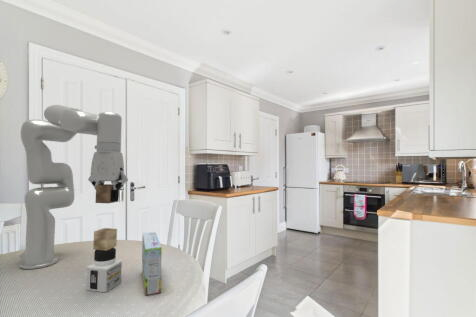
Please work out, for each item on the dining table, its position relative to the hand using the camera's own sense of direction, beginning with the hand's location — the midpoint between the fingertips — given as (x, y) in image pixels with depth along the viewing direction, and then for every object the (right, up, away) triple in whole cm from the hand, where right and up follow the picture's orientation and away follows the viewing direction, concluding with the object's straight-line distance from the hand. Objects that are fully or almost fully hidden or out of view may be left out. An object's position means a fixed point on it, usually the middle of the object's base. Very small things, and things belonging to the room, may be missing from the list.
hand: (107, 200), depth 87 cm
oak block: (0, -16, -1) cm, 16 cm away
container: (0, -29, -1) cm, 29 cm away
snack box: (+14, -30, +3) cm, 33 cm away
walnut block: (0, -1, 0) cm, 1 cm away
